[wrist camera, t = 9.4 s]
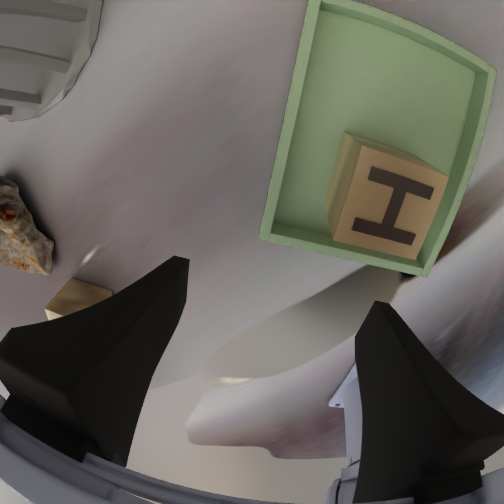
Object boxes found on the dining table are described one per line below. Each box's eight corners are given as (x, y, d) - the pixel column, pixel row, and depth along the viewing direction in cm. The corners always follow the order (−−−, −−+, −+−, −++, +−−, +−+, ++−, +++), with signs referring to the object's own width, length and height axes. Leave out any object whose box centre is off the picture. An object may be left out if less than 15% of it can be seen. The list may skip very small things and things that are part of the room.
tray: (479, 68, 11) (497, 69, 10) (417, 261, 19) (426, 278, 17) (308, 0, 12) (310, -11, 10) (261, 225, 19) (258, 239, 17)
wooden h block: (414, 154, 15) (450, 177, 11) (391, 222, 17) (416, 262, 13) (343, 131, 15) (362, 145, 11) (323, 204, 17) (333, 241, 13)
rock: (-17, 191, 20) (10, 284, 23) (-55, 200, 15) (-23, 307, 18) (40, 160, 20) (69, 266, 23) (0, 162, 15) (36, 292, 18)
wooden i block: (112, 290, 23) (86, 326, 20) (117, 326, 26) (96, 361, 22) (71, 277, 24) (43, 308, 20) (79, 313, 26) (56, 344, 22)
